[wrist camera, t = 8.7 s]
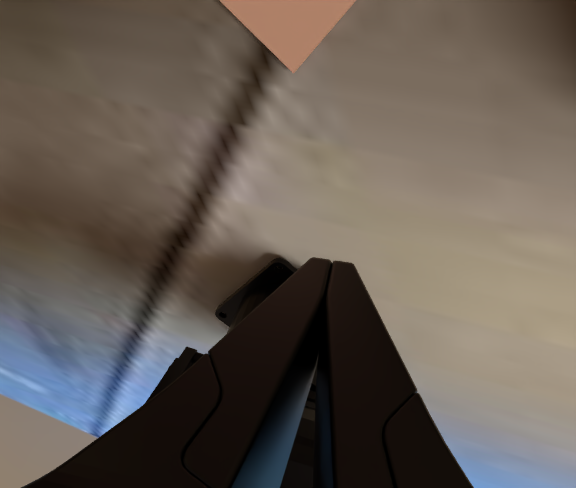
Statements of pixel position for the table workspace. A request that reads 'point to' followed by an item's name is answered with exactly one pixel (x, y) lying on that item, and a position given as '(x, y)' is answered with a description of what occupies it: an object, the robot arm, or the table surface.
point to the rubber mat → (289, 24)
